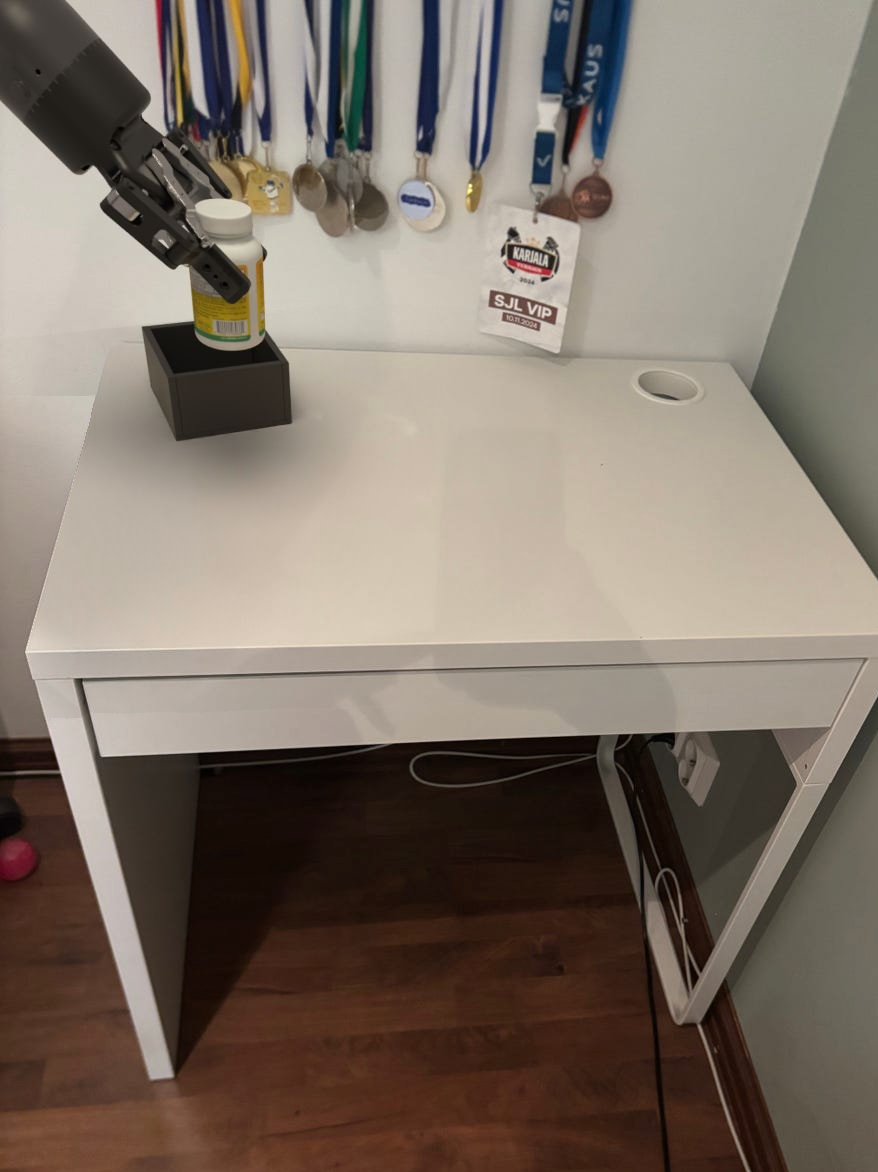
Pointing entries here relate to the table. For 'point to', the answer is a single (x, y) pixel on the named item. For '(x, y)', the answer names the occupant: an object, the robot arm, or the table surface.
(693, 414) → the table surface
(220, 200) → the supplement bottle
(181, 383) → the basket
